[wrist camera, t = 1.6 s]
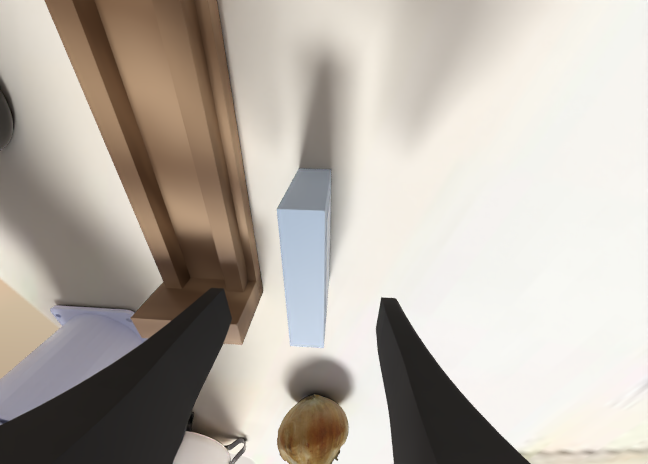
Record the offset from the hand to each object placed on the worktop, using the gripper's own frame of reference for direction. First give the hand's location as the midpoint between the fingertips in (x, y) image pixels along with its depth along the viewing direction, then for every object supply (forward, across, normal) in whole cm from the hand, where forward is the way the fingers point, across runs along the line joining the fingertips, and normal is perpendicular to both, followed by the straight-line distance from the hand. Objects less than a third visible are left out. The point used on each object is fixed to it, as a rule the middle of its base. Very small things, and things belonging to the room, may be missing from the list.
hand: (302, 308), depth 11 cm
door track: (+7, +8, -4) cm, 11 cm away
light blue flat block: (+7, 0, 0) cm, 7 cm away
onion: (+7, 0, +23) cm, 24 cm away
